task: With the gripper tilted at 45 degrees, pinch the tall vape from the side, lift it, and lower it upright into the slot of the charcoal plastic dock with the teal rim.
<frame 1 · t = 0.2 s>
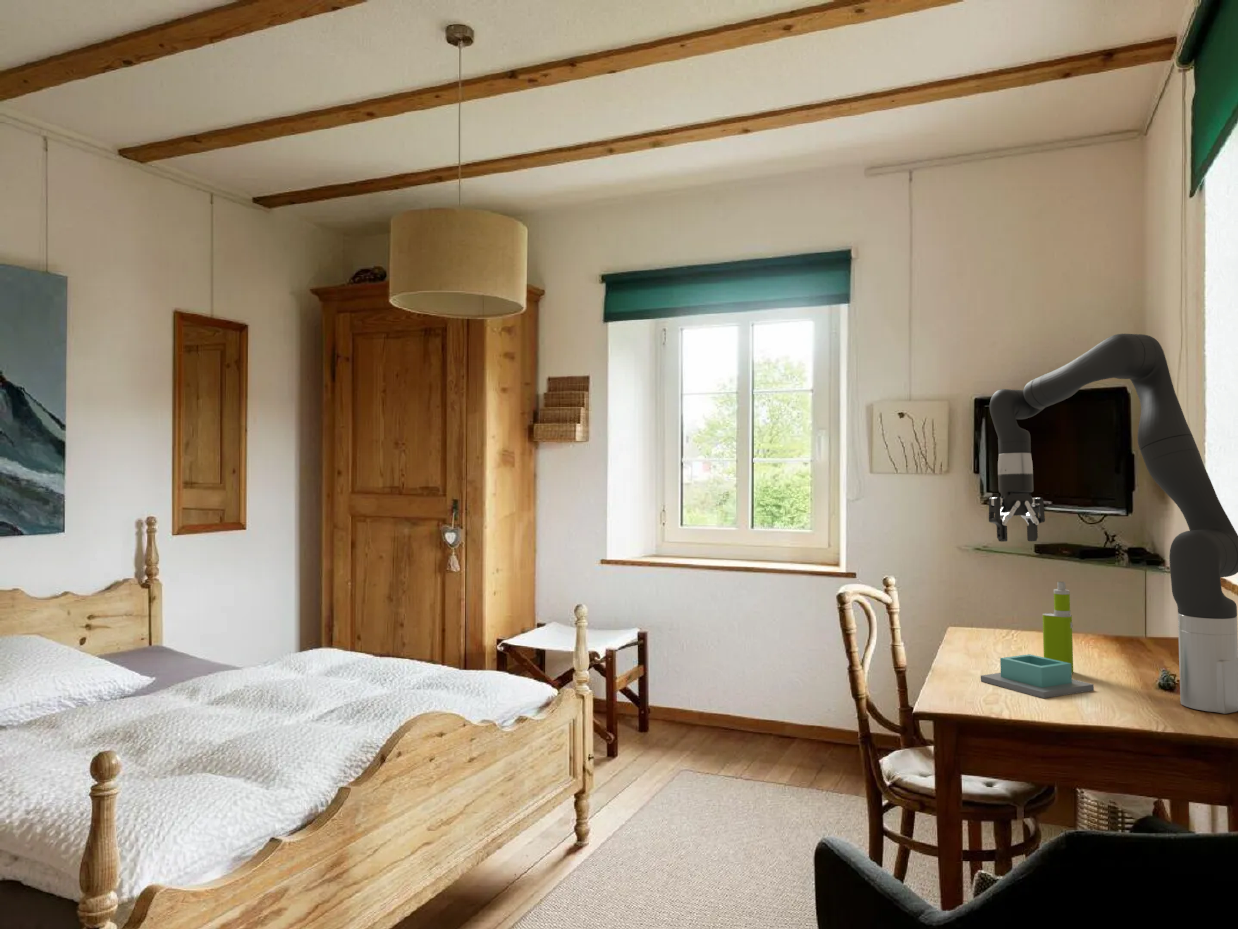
hand: (1017, 541, 202), 28 cm above the table, tool pointing down, fingers open, 8 cm apart
vape: (1059, 672, 191), on the table
dock: (1035, 685, 179), on the table
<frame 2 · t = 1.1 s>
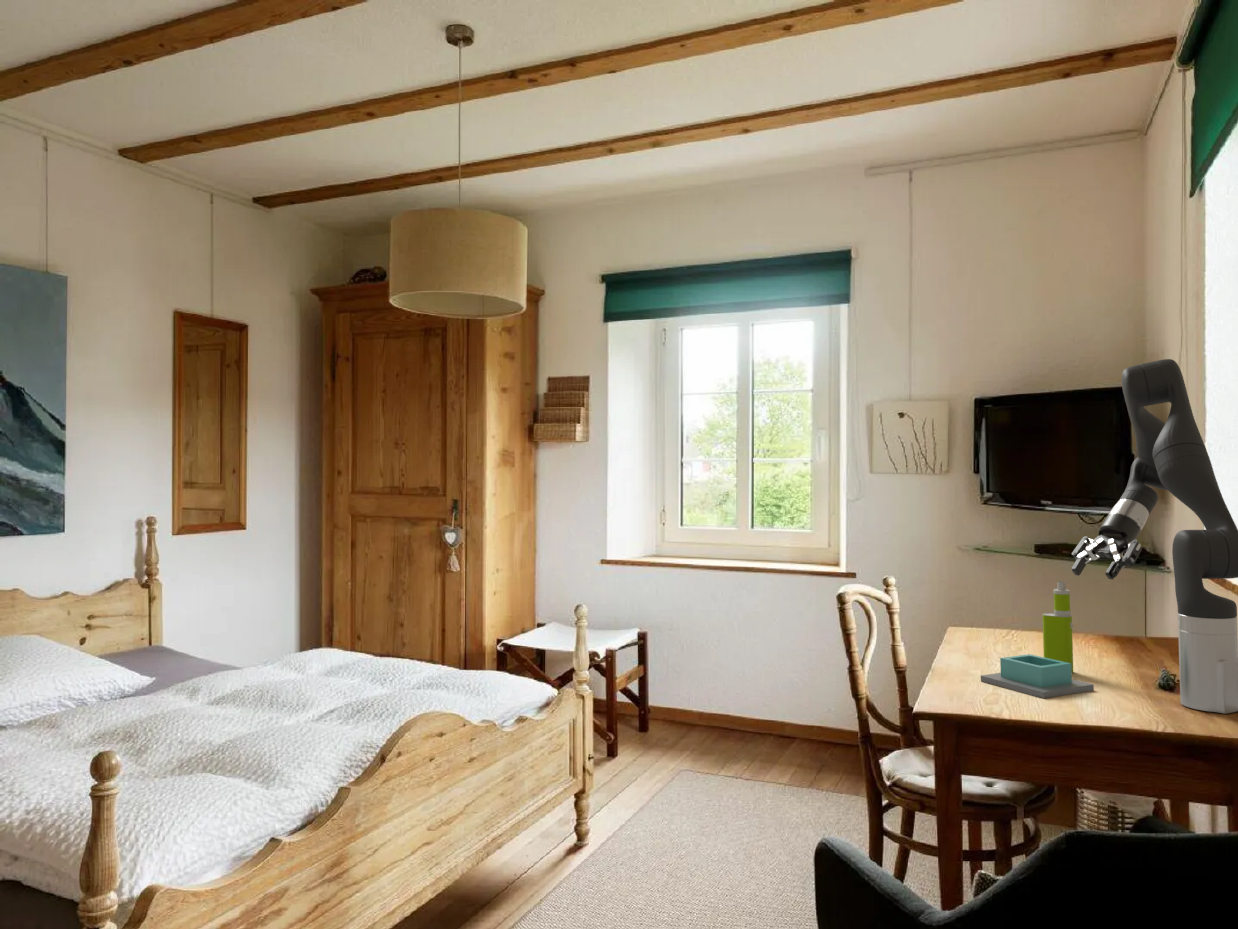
hand: (1091, 575, 195), 21 cm above the table, tool tilted 45°, fingers open, 8 cm apart
nothing on the table moved.
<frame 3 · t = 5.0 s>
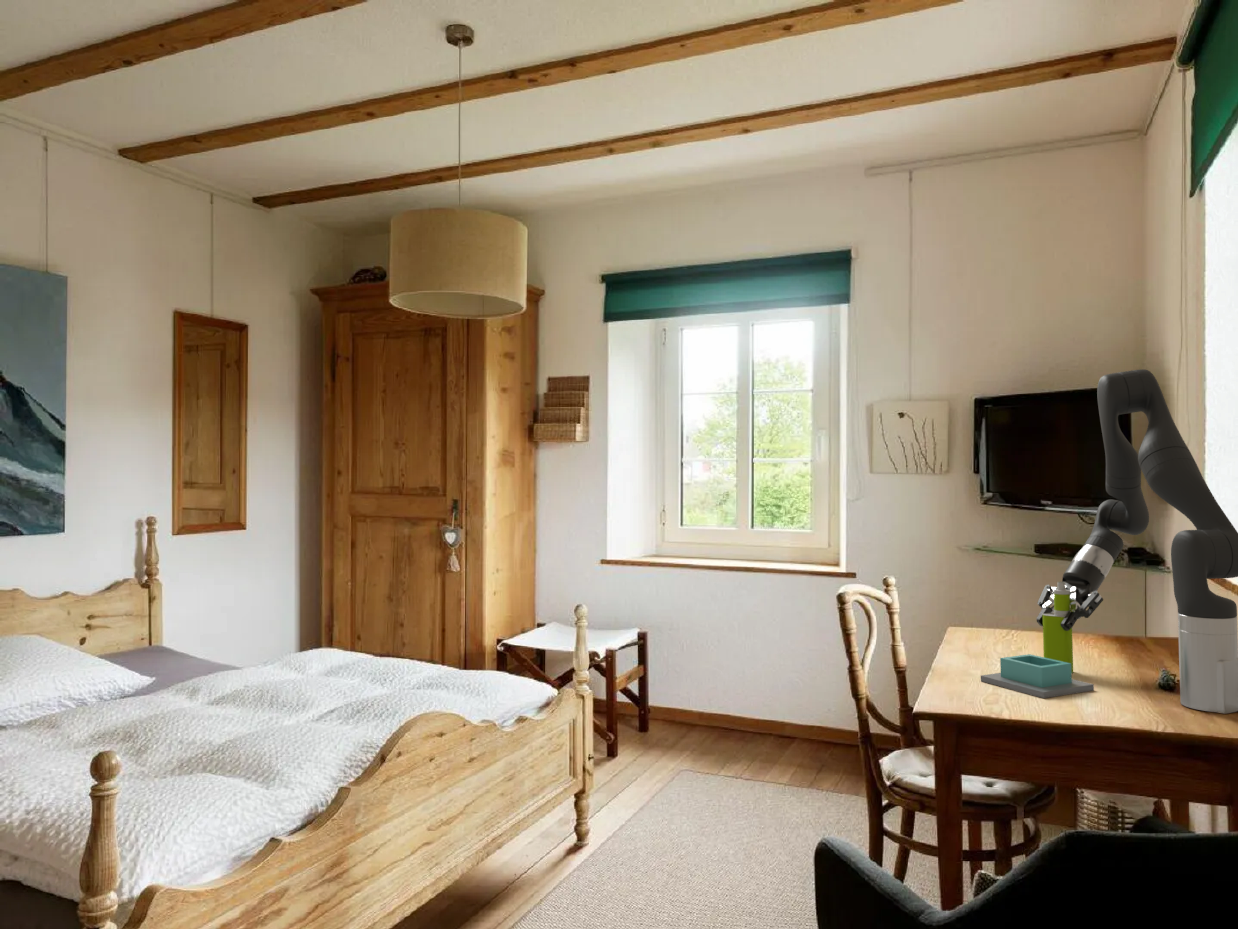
hand: (1051, 626, 190), 10 cm above the table, tool tilted 45°, fingers closed on vape, 5 cm apart
vape: (1058, 672, 191), on the table, touching gripper
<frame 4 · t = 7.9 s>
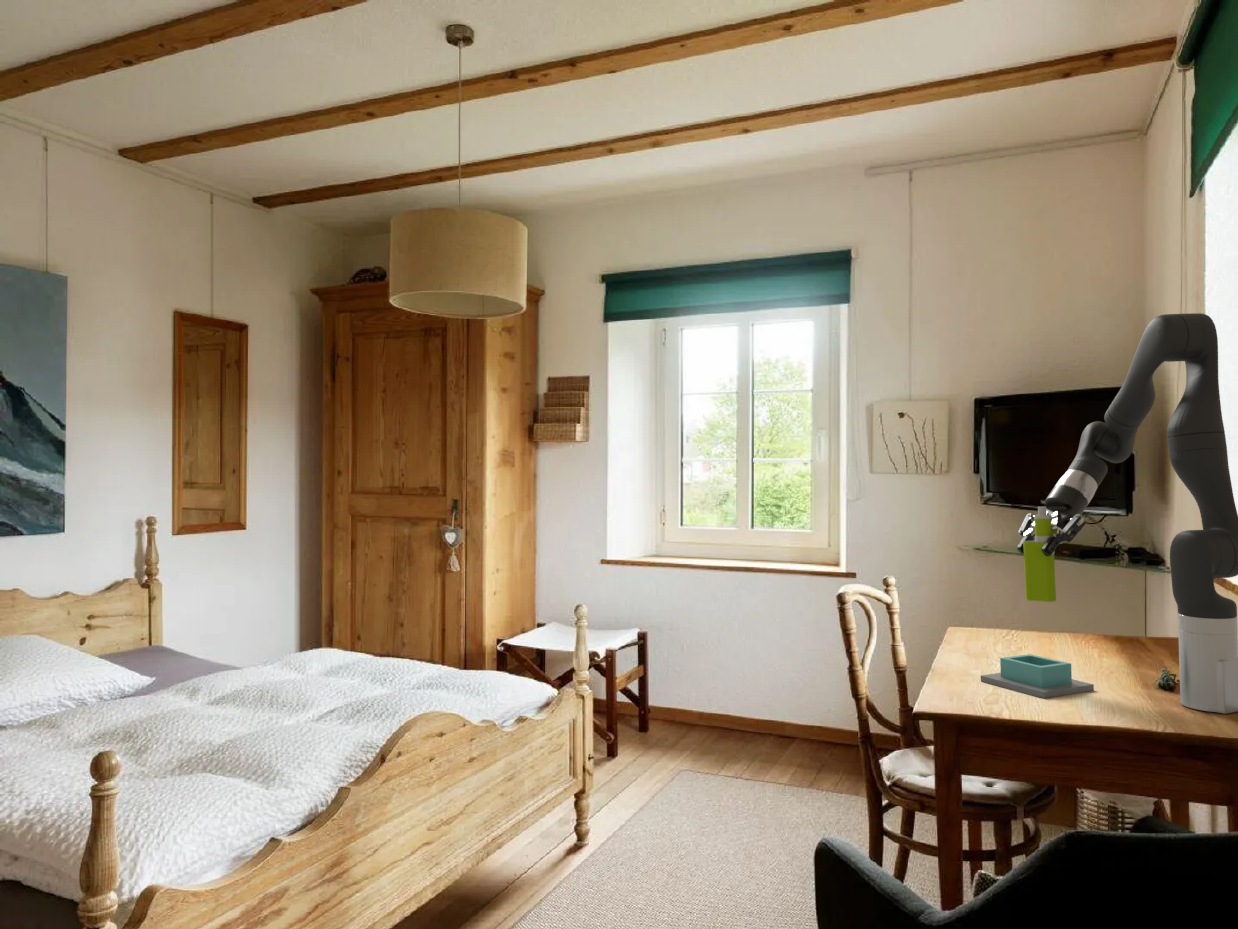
hand: (1032, 552, 181), 28 cm above the table, tool tilted 45°, fingers closed on vape, 5 cm apart
vape: (1041, 601, 181), point 17 cm above the table, touching gripper
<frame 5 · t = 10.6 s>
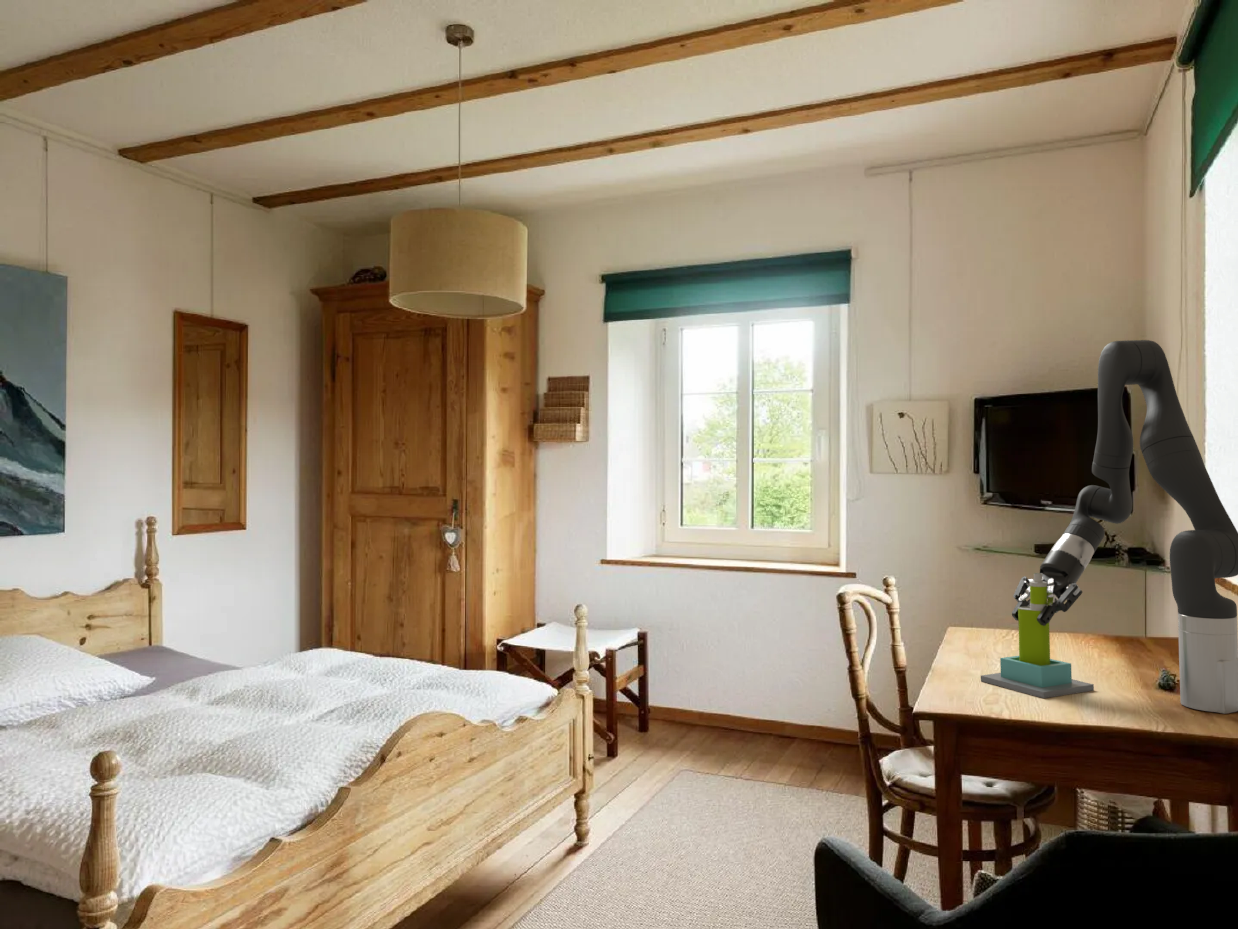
hand: (1027, 620, 178), 14 cm above the table, tool tilted 45°, fingers closed on vape, 5 cm apart
vape: (1035, 669, 179), point 3 cm above the table, touching gripper
when the fingers open (13 cm above the table, at t = 11.3 s): vape drops 2 cm, resting on dock.
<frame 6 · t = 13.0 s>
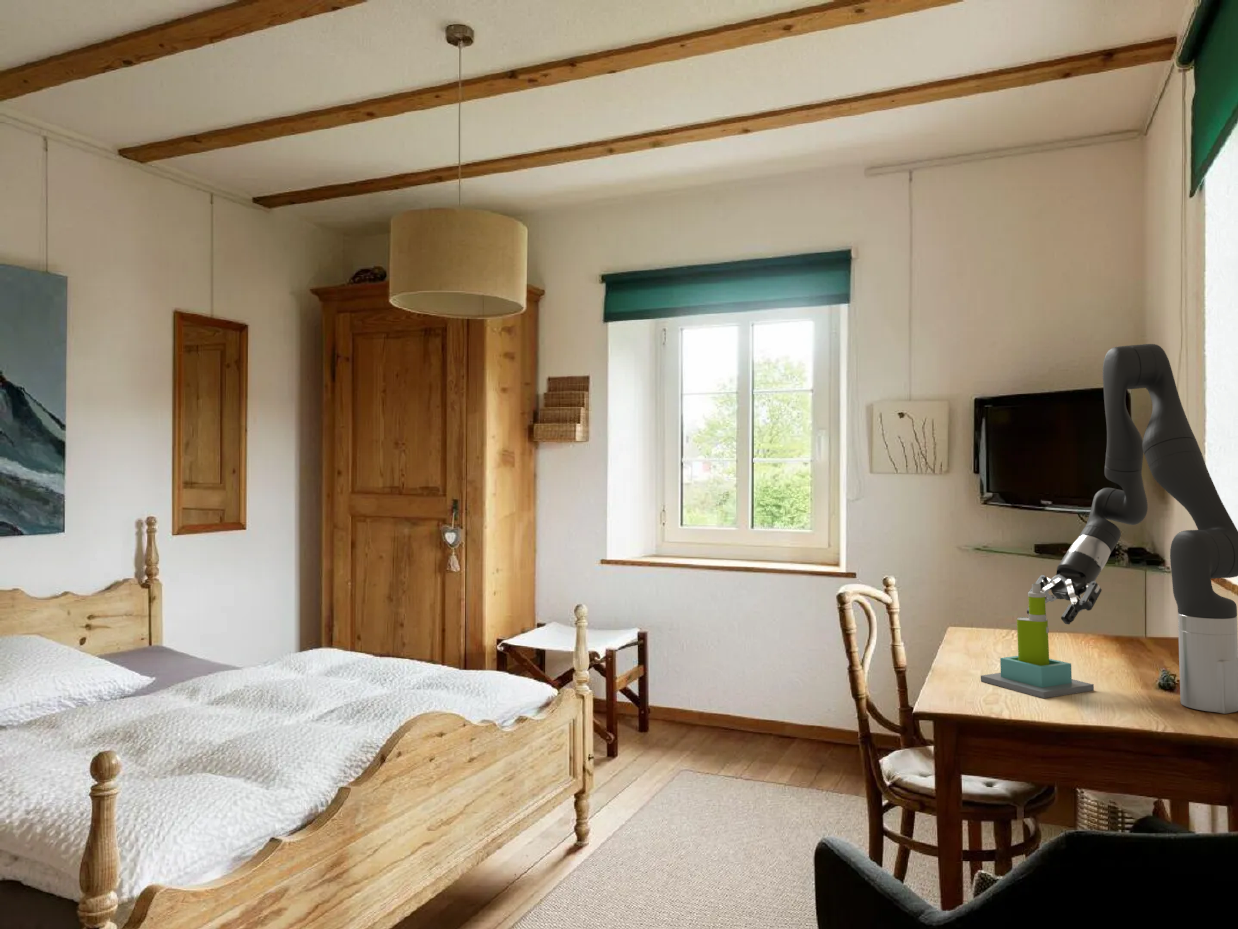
hand: (1047, 618, 180), 14 cm above the table, tool tilted 45°, fingers open, 8 cm apart
vape: (1034, 680, 179), point 1 cm above the table, touching dock
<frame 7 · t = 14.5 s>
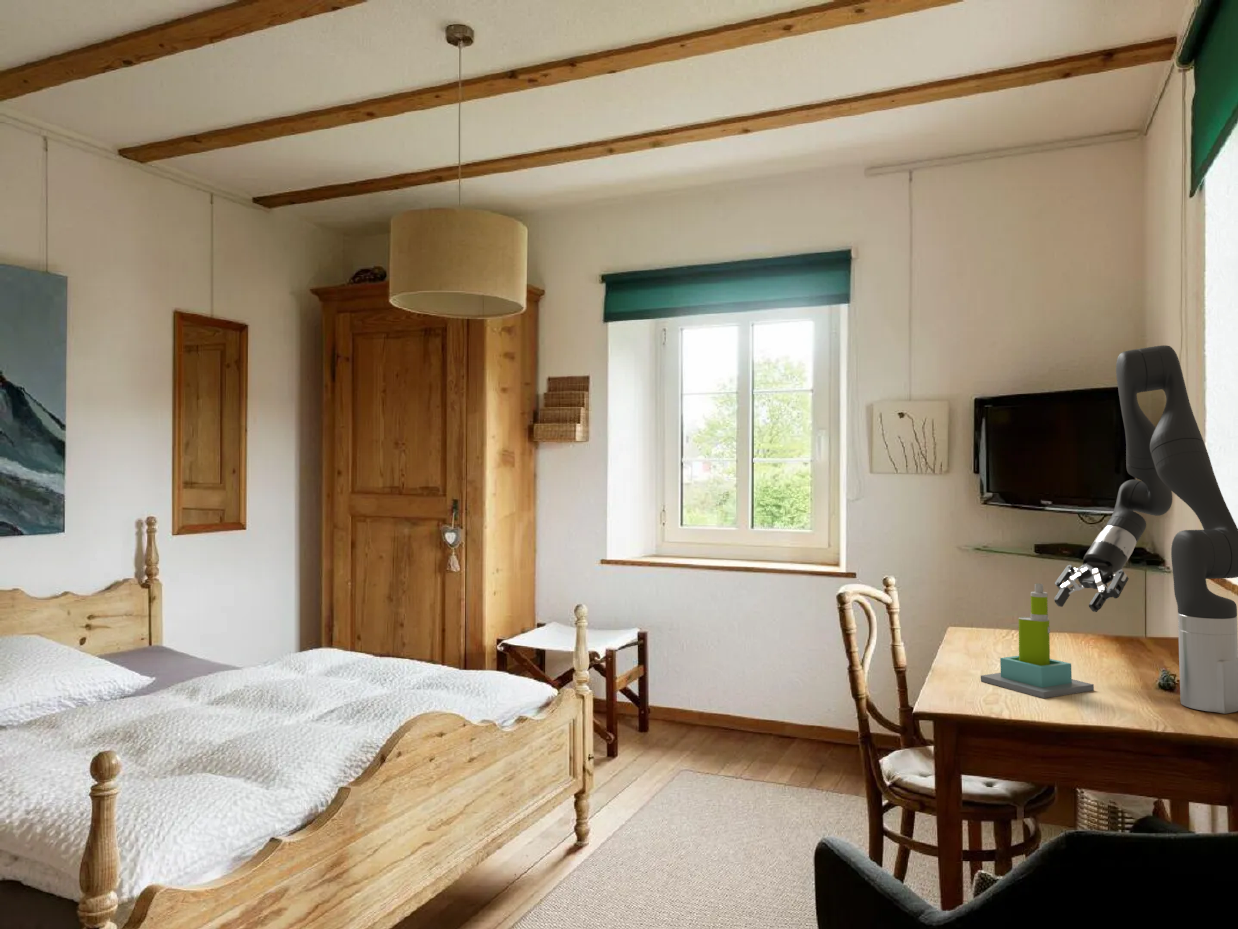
hand: (1074, 606, 184), 15 cm above the table, tool tilted 45°, fingers open, 8 cm apart
nothing on the table moved.
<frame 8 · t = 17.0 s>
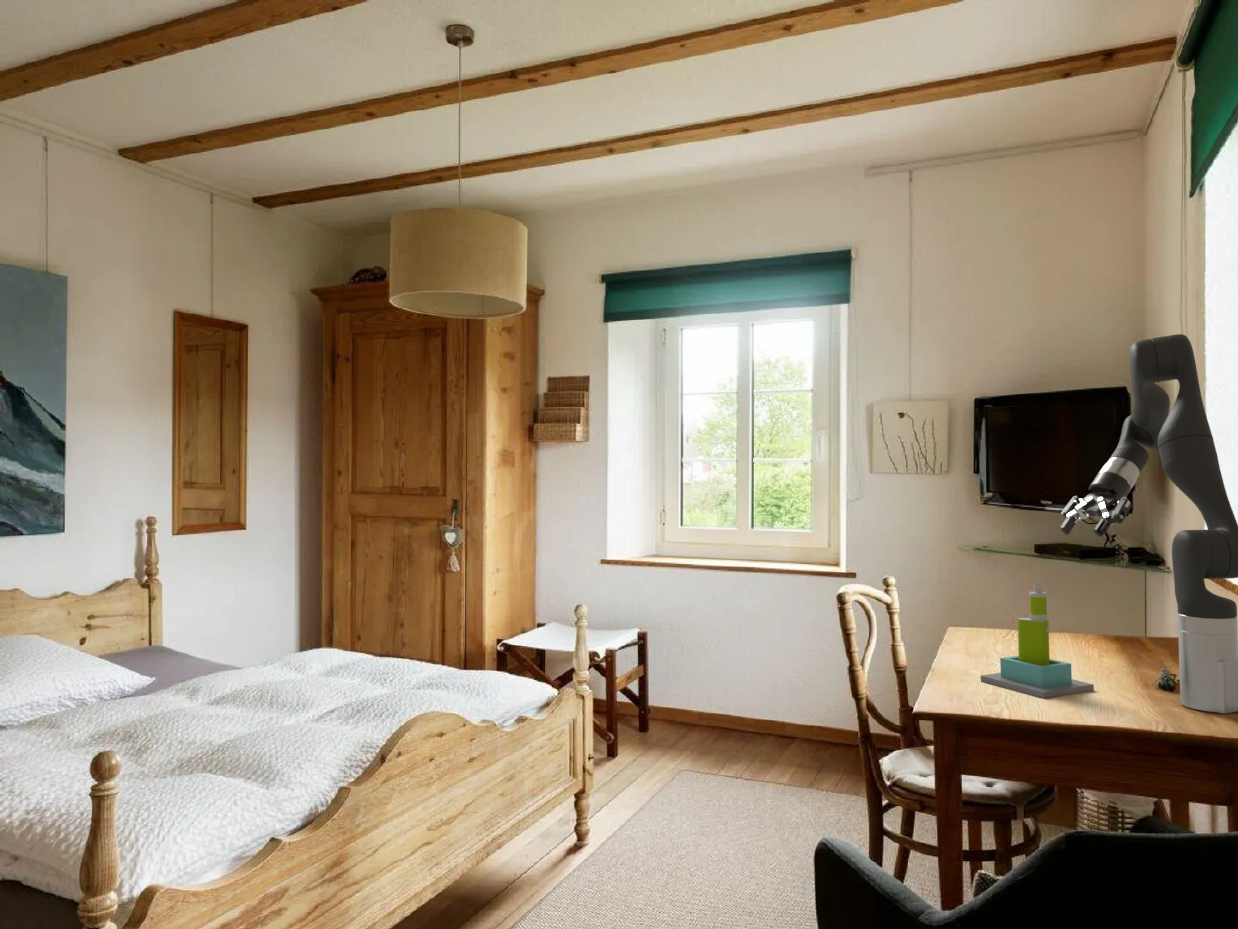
hand: (1080, 533, 193), 31 cm above the table, tool tilted 45°, fingers open, 8 cm apart
nothing on the table moved.
at the end: vape 0.4 cm off-centre on the dock, point 1.0 cm above the dock's base; vape tilted 1°; the gripper is holding nothing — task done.
